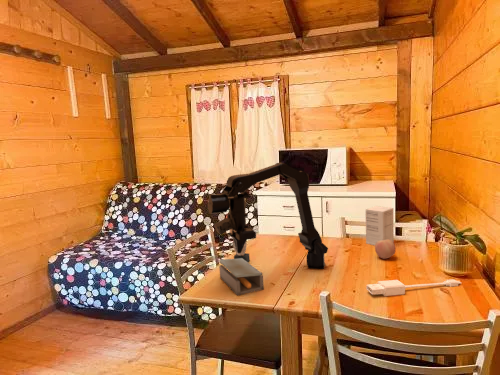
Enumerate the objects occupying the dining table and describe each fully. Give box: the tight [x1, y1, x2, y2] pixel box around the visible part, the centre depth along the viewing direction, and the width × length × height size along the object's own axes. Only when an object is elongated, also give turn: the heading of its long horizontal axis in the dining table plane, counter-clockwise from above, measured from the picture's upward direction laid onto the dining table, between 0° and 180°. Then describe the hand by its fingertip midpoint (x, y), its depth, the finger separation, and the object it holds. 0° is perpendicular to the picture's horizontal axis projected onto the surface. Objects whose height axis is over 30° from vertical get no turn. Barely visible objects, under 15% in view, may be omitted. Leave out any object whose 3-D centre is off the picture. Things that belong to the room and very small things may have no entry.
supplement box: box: [365, 205, 395, 246], centre depth 168 cm, size 10×9×17 cm
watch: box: [232, 241, 250, 263], centre depth 154 cm, size 6×8×11 cm
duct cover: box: [218, 258, 263, 277], centre depth 131 cm, size 10×18×1 cm, turn 24°
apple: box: [374, 239, 396, 260], centre depth 149 cm, size 8×8×8 cm
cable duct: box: [219, 264, 265, 297], centre depth 132 cm, size 10×18×5 cm, turn 23°
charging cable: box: [365, 279, 462, 297], centre depth 119 cm, size 5×32×3 cm, turn 98°
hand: (239, 252), depth 130 cm, fingers closed
